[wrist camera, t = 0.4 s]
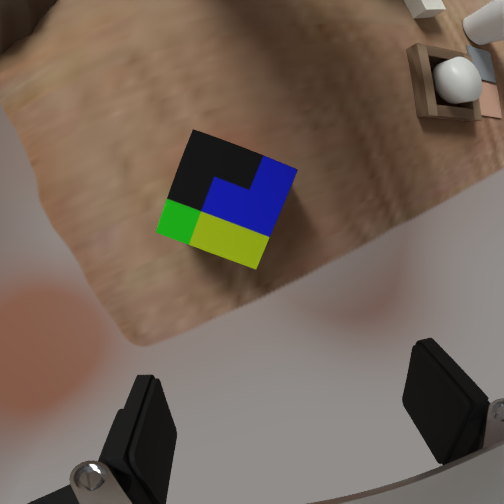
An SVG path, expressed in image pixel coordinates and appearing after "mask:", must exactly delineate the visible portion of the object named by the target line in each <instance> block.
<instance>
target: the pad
mask: <svg viewBox="0 0 504 504" xmlns="http://www.w3.org/2000/svg"><path fill="white" fill-rule="evenodd" d="M479 102H480V109H481V115H483V116H490V117H496V118H501V109H500V102H499V96H498V89H497V86H496V85H492V84H488V83H484V82H482V93H481V95H480V97H479Z"/></svg>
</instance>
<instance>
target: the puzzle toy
mask: <svg viewBox="0 0 504 504" xmlns="http://www.w3.org/2000/svg"><path fill="white" fill-rule="evenodd" d="M296 173H297V169H295V168H293V167H290V166H288V165H285V164H283V163H281V162H278V161H276V160H273V159H271V158H268V157H266V156H264V155H261V154H259V153H256V152H253V151H251V150H248V149H246V148H243V147H241V146H238V145H235V144H233V143H230V142H227V141H225V140H222V139H219V138H216V137H214V136H211V135H208V134H205V133H202V132H200V131H197V130H194V129H193V131H192V133H191V136H190V138H189V141H188V143H187V146H186V148H185V151H184V153H183V156H182V159H181V161H180V164H179V167H178V169H177V172H176V175H175V178H174V180H173V183H172V186H171V189H170V192H169V195H168V197H167V200H166V203H165V206H164V209H163V212H162V215H161V218H160V221H159V224H158V227H157V230H156V233H159V234H161V235H164V236H167V237H169V238H172V239H175V240H177V241H180V242H183V243H186V244H188V245H191V246H194V247H196V248H199V249H202V250H204V251H207V252H210V253H212V254H215V255H218V256H221V257H223V258H226V259H229V260H231V261H234V262H237V263H240V264H242V265H245V266H248V267H251V268H253V269H257V266H258V264H259V261H260V259H261V257H262V254H263V252H264V250H265V247H266V245H267V242H268V240H269V238H270V235H271V233H272V231H273V228H274V226H275V223H276V221H277V219H278V216H279V214H280V211H281V209H282V207H283V204H284V202H285V199H286V197H287V195H288V192H289V190H290V187H291V185H292V183H293V180H294V178H295V175H296Z"/></svg>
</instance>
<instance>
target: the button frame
mask: <svg viewBox="0 0 504 504" xmlns="http://www.w3.org/2000/svg"><path fill="white" fill-rule="evenodd" d="M406 51H407V56H408V61H409V66H410V71H411V77H412V83H413V90H414V96H415V103H416V111H417V117H421V118H436V119H449V120H459V121H469V122H471V121H482V117H481V109H480V102H479V98H478V99H477V100H475V101H469V102H463V103H460V104H461V108H460V107H452V106H444V105H436V98H435V92H434V85H433V79H432V74H431V68H430V63H429V62H432V63H438V64H440V63H442V62H445V61H447V60H450V59H453V58H455V57H464V58H466V59H468V60H469V61H470V62H472V58H471V55H469V54H465V53H461V52H457V51H452V50H448V49H443V48H438V47H433V46H428V45H423V44H415V45H413V46H411V47H409V48H408V49H406ZM472 63H473V62H472Z"/></svg>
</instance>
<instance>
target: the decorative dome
mask: <svg viewBox="0 0 504 504" xmlns="http://www.w3.org/2000/svg"><path fill="white" fill-rule="evenodd" d="M55 2H56V0H0V54H3V53H4V52H5V51H6V50H7V49H8V48H9V47H10V46H11V45H12V44H13V43H14V42H15V41H17V40H19V39H21V38H24V37H26V36H29V35H30V34H31V33H32V32H33V30H34V28H35V26H36V24H37V22H38V20H39V18H40V17H41V15H42V14H44V13H45V12H46V11H47V10H48V9H49V8H50V7H51V6H52V5H53V4H54V3H55Z"/></svg>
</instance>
